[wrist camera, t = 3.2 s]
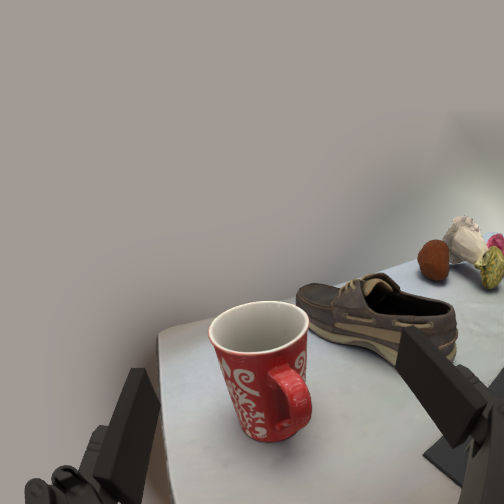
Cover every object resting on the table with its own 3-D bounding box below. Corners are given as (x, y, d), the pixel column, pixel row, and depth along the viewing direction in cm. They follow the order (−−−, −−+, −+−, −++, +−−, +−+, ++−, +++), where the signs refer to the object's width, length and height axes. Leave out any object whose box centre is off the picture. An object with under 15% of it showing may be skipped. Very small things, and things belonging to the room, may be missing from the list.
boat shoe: (322, 299, 56) (320, 247, 53) (462, 345, 33) (477, 280, 30) (282, 322, 50) (277, 265, 46) (440, 389, 27) (461, 317, 24)
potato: (448, 290, 52) (415, 290, 56) (448, 258, 59) (419, 258, 64) (449, 263, 48) (414, 263, 53) (448, 232, 55) (417, 232, 60)
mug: (223, 404, 32) (200, 312, 28) (291, 384, 34) (285, 292, 30) (255, 485, 21) (231, 398, 17) (340, 452, 23) (354, 355, 19)
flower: (488, 290, 50) (473, 252, 53) (490, 278, 57) (476, 245, 59) (525, 269, 42) (509, 230, 44) (522, 259, 48) (508, 224, 50)
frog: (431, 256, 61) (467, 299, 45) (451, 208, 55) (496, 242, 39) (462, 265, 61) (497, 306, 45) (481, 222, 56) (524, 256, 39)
